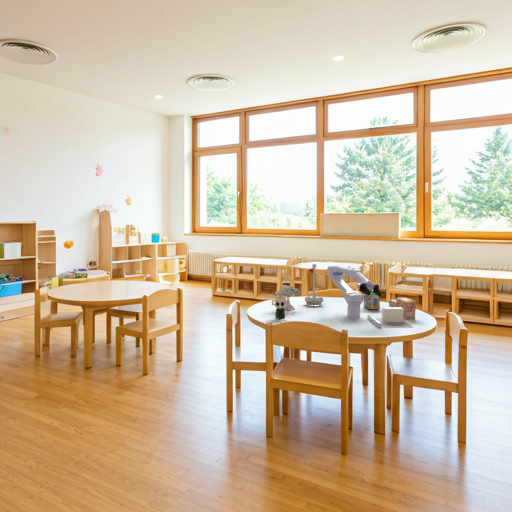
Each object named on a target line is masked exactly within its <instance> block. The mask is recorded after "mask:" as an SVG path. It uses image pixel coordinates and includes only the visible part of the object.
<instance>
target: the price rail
mask: <svg viewBox="0 0 512 512" xmlns="http://www.w3.org/2000/svg"><path fill="white" fill-rule="evenodd" d="M366 318H367V320H369V322H371V323H372V324H373V325H374V324H375V325H374V326H376V328H378V329H382V328H381V323H380V322H379V321H378V320H376V319H375V317H374V316H372V314H370V313H369V314H367V317H366Z"/></svg>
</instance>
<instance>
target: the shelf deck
mask: <svg viewBox="0 0 512 512" xmlns="http://www.w3.org/2000/svg"><path fill="white" fill-rule="evenodd" d="M374 318H375V317H374ZM375 319H376V320H378V321H379V322H380V323H381V328H380V329H413V328H414V326H412V325H410V324H409V323H407V322H406V320H405V321H404V320H403V322H384V321H382V317H381V318H377V317H376V318H375ZM373 325H374V326H376V325H375V324H373Z"/></svg>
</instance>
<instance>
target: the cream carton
mask: <svg viewBox="0 0 512 512" xmlns="http://www.w3.org/2000/svg"><path fill="white" fill-rule="evenodd" d="M381 316H382V317H381V318H382V321H384V322H403V321H404V319H403V308H401V307H389V306H387V307H386V306H382V315H381Z"/></svg>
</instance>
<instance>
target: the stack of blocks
mask: <svg viewBox="0 0 512 512" xmlns="http://www.w3.org/2000/svg"><path fill="white" fill-rule="evenodd" d="M388 301H389V302H388V305H389V306H388V307H401V308H403V320H405V321H406V320H415V319H416V309H417V307H416V306H417V303H416V302H417V301H416V300H414V299H411V298H407V297H396V299H389V300H388Z"/></svg>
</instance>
